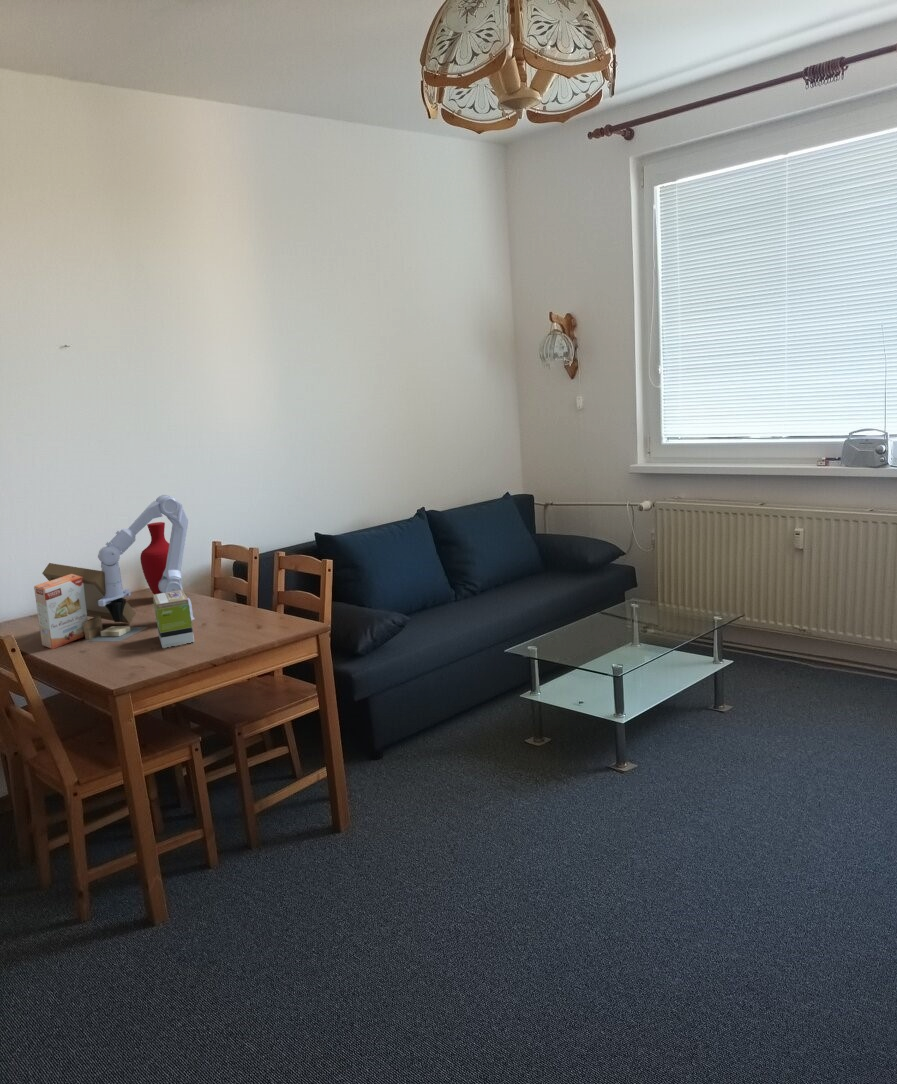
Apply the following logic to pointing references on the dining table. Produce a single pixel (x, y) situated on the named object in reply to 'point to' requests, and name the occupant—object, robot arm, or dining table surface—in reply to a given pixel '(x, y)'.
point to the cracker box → (61, 610)
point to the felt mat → (118, 638)
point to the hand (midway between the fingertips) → (118, 621)
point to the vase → (155, 556)
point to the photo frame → (89, 589)
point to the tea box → (173, 618)
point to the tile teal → (115, 631)
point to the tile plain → (92, 627)
